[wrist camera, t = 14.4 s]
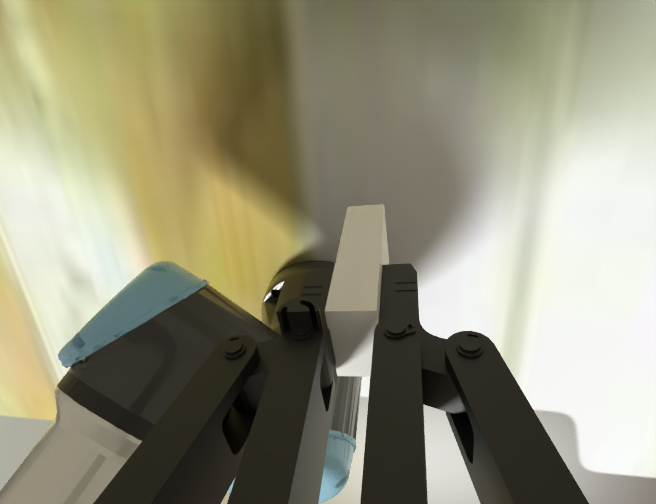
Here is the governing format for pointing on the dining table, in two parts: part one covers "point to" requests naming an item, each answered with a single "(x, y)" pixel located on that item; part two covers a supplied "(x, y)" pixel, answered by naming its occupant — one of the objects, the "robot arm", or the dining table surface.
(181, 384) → the robot arm
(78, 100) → the dining table surface
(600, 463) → the dining table surface
